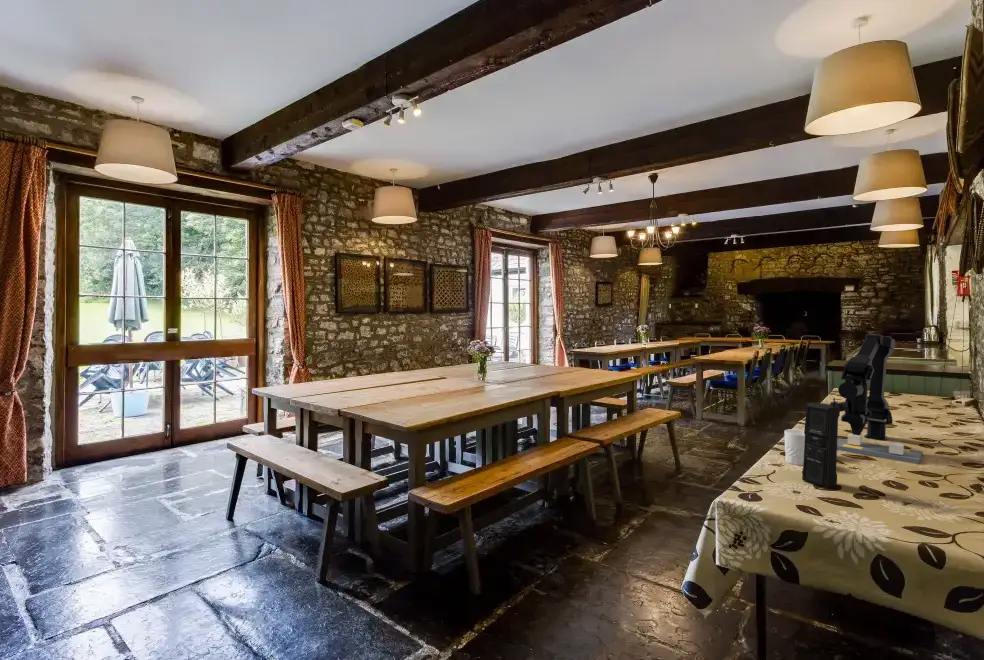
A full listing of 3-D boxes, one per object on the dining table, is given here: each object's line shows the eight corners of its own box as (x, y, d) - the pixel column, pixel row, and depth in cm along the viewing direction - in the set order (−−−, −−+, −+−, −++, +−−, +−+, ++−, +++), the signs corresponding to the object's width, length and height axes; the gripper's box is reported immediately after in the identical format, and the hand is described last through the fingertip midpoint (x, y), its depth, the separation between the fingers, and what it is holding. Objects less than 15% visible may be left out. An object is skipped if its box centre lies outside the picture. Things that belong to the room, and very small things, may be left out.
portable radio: (797, 479, 144) (799, 394, 143) (810, 476, 147) (813, 393, 146) (824, 488, 137) (827, 399, 136) (838, 485, 140) (841, 397, 138)
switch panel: (838, 442, 185) (838, 437, 185) (922, 455, 168) (922, 451, 168) (830, 449, 176) (830, 444, 176) (918, 464, 159) (919, 459, 159)
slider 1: (849, 442, 178) (849, 433, 178) (861, 444, 176) (861, 435, 176) (847, 443, 176) (847, 435, 176) (859, 445, 174) (860, 437, 174)
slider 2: (890, 450, 167) (890, 442, 167) (903, 453, 165) (904, 444, 165) (888, 452, 165) (889, 443, 165) (902, 455, 163) (903, 446, 163)
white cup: (802, 468, 155) (803, 436, 155) (778, 461, 162) (779, 430, 162) (817, 464, 159) (818, 433, 158) (792, 457, 166) (793, 428, 165)
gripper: (836, 390, 190) (834, 430, 190) (825, 396, 176) (823, 439, 177) (872, 394, 182) (870, 436, 182) (863, 400, 169) (861, 445, 169)
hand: (855, 438), depth 178 cm, fingers closed
